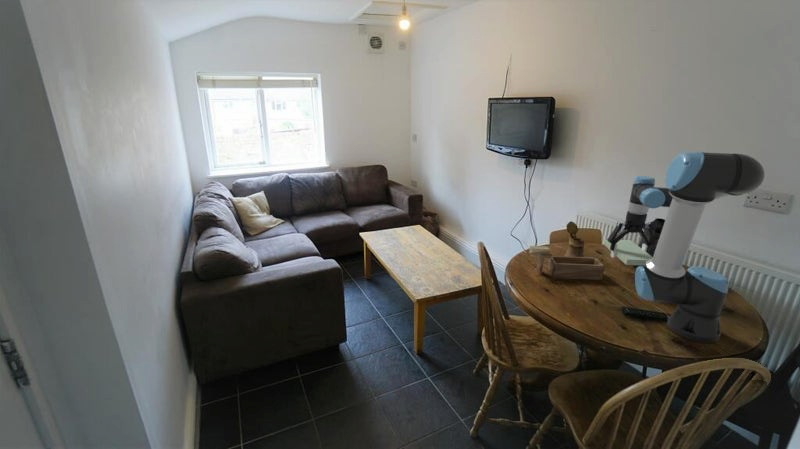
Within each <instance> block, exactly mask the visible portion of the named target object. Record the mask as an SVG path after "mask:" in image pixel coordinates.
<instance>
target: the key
mask: <svg viewBox="0 0 800 449" xmlns="http://www.w3.org/2000/svg"><path fill="white" fill-rule="evenodd" d="M528 252H529V254H530V255H541V254H549V253H550V247H549V246H546V245H545V246H543V245H542V246H541V245H540V246H539V245H530V246H529V251H528Z"/></svg>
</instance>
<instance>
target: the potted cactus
mask: <svg viewBox="0 0 800 449" xmlns="http://www.w3.org/2000/svg"><path fill="white" fill-rule="evenodd" d="M578 228H579V227H578V225H577V224H576V223H575V222H573V221H572V220H571V221H569V222H568V223H567V224H566V231H567V233H569V239H568V240H569V241H568V248H567V250H566V253H565V255H564V256H570V257H585V254H584V253H585V249H584V248H585V247H584V246H585V240H584V238H582V237H581V238H579V237H577V235H576V234H577V233H578V230H579V229H578Z"/></svg>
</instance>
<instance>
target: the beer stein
mask: <svg viewBox="0 0 800 449" xmlns="http://www.w3.org/2000/svg"><path fill="white" fill-rule="evenodd" d="M665 220H666V218H660V217H659V218H655V219H654V220H653V221H649V223H650V224H652V232H653V236H654V240H655V244H651V246H649V250H648V252H647V253H648V254H649V255H651V256H652V257H653V256H654V253H655V250H656V247H657V244H658V241H659V238H660V235H661V232H662V229H663V226H664V223H665ZM642 230H643V232H644V234H645V236H646V237H647V239H648V241H649V238H648V234H647V230H646V227H644V228H643V229H642ZM642 244H645V242H644V241H643V239H642V237H641V238H640V240H639V243H638V244H637V245H638V246H639V247H640V248H641V249H642ZM631 266H632V267H633V268H634V269H635V270H636V269H637V268H638V267H639V266H643V267H644V265H631Z"/></svg>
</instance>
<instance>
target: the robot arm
mask: <svg viewBox="0 0 800 449" xmlns="http://www.w3.org/2000/svg"><path fill="white" fill-rule="evenodd" d="M764 180H765V169H764V166H763V165H762V163H760V162H759V161H758V160H757V159H756V158H754V157H752V156H750V155H747V154H743V153H720V152H704V151H703V152H701V151H693V152H691V151H689V152H686V151H685V152H682V153H680V154H678V155H676V156H675V157H673V159H672V161H671V162H670V164H669V165H668V168H667V170H666V173H665V179H664V184H665V187H657V186H655V185H656V179H655V178H654V177H651V176H646V175H637V176H635V177H634V179H633V183H632V188H631V193H630V197H629V202H628V206H627V212H626V216H625V221H624V222H620V221H617V223H616V226H615V227H614V229H613V230H612V231H611V233H610V235H609V236H608V238H606V239H607V241H608V242H609V243H611V246H610V250H611V251H610V250H609V251H610V257H611V258H612V259H615V258H616V250H617V244H616V243H617V242H618V241H620V240H623V238H624V237H625V236H626V235H628V234H630V233H631V234H633V233H634V234H639V236H640V237H641V238H642V239H643V241H644V242H645V244H642V249H643V250H644V251H645V252H648V250H649V246H651V244H655V240H654V236H653V232H652V224H650V221H649V222H647V217H648V214H647V213H649V209H657V208H660V207H664V208H669V209H668V211H667V214H666V217H665V223H664V226H663V229H662V232H661V235H660V238H659V241H658V244H657V247H656V250H655V253H654V256H653V258H651V259H648V260H647V261H646V264H645V266H644V267H643V266H639V267H638V268H637V269H636V268H635V273H634V286H635V289H636V290H635V291H636V293H637V295H638V296H639V297H640V298H641V299H642V300H646V301H652V302H661V303H670V304H677V306H676V308H675V309H674V311H672V313H671V314H670V315H669V316H668V318H667V321H666V325H667V327H668V329H669V330H670V331H672V332H673V333H675V334H676V335H678V336H680V337H682V338H684V337H685V338H684V339H686V338H687V339H686V340H689V339H690V341H692V340H693V342H696V341H697V343H701V342H702V343H703V344H714V343H713V342H715V343H717V342H718V341H719V340H720V337H721V326H720V315H721V312H722V310H723V306H724V303H725V301H726V297H727V294H728V293H729V292H728V291H729V286H730V282H729V279H728V278H727V277H726V276H724V275H723V274H721V273H719V272H717V271H714V270H712V269H709V268H706V267H703V266H697V265H692V266H689V267H688V268H687V269H685V268H684V267H683V265H684V262H685V259H686V257H687V255H688V252H689V250H690V246H691V243H692V241H693V238H694V236H695V233H696V231H697V228H698V227H699V226H698V225H699V222H700V220H701V217H702V215H703V212H704V210H705V207H706V205H707V204H710V203H713V202H714V201H715V200H718V199H722V198H724V197H728V196H735V197H736V196H742V195H743V196H744V195H746V194H749V193H752V192H754V191H755V190H757V189H758V188H759V187H760V186H762V184H763V182H764ZM644 227H646V230H647V234H648V238H649V241H648V239H647V237H646V236H645V234H644V231H643V228H644ZM702 343H701V344H702Z"/></svg>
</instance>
